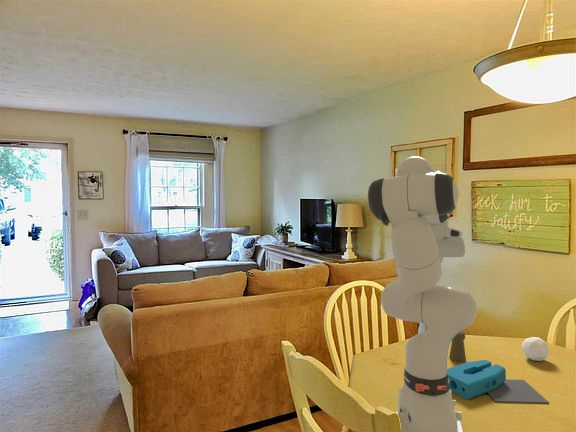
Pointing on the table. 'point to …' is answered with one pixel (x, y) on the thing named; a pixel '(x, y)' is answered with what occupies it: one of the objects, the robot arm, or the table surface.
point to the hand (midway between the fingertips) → (434, 269)
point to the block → (475, 378)
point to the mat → (516, 393)
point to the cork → (458, 348)
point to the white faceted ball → (535, 348)
